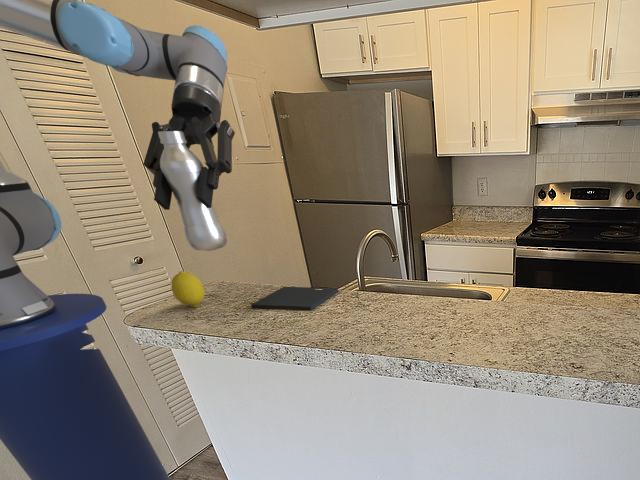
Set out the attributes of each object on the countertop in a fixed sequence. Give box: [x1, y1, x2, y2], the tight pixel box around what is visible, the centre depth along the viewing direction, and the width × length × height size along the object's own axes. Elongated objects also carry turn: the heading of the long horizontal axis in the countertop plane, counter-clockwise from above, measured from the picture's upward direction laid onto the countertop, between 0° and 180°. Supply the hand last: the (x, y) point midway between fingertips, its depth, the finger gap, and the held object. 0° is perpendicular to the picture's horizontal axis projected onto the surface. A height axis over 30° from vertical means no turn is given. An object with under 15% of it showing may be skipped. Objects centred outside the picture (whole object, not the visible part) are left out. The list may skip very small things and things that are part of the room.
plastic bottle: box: [158, 131, 228, 252], centre depth 73 cm, size 6×7×20 cm
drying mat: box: [250, 286, 339, 311], centre depth 90 cm, size 14×12×1 cm
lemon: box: [170, 270, 206, 308], centre depth 86 cm, size 6×6×8 cm
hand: (183, 203), depth 71 cm, fingers closed on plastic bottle, 6 cm apart
